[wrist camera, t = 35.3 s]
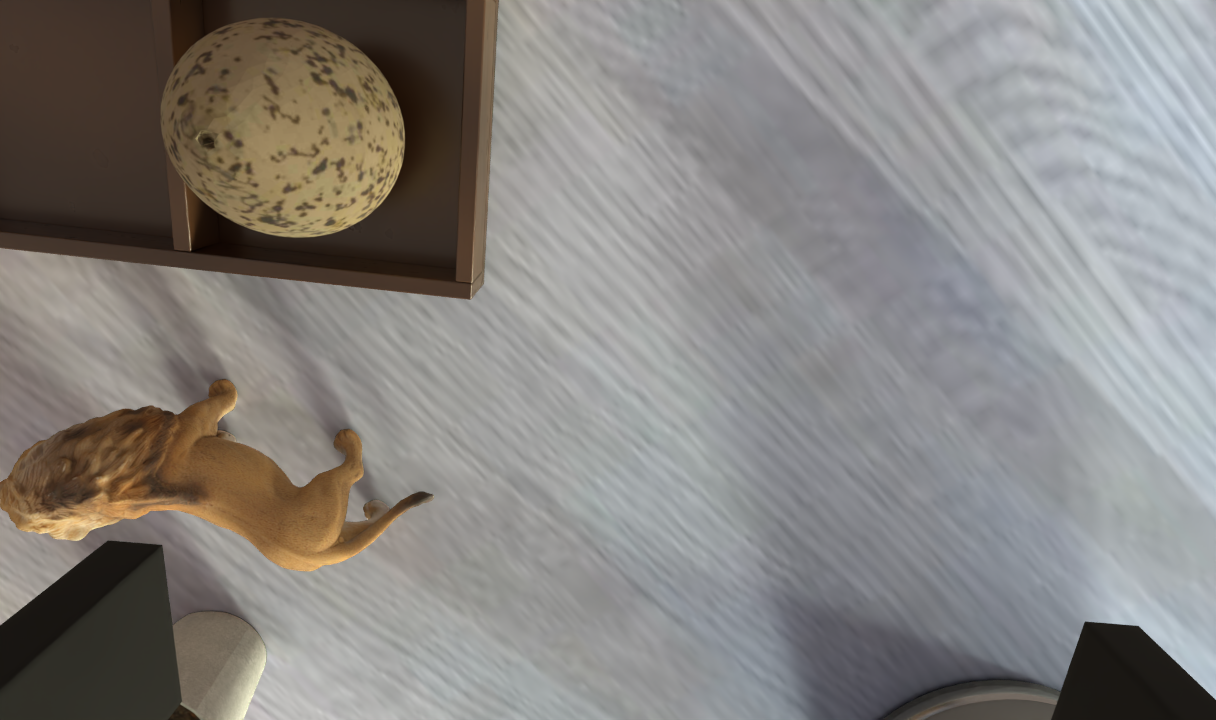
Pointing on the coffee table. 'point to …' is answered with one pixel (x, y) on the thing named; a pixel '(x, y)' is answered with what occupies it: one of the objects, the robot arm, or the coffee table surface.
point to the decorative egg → (283, 127)
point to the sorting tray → (163, 203)
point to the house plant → (216, 666)
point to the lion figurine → (192, 484)
